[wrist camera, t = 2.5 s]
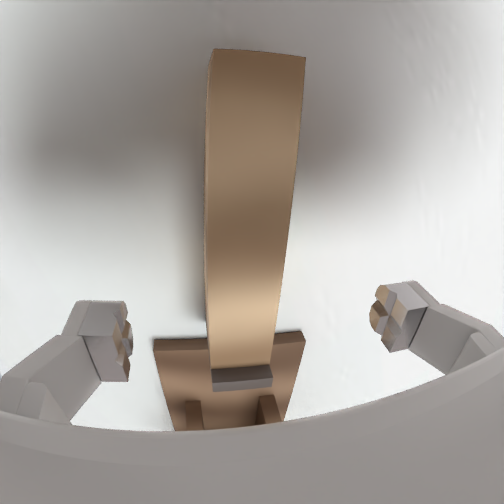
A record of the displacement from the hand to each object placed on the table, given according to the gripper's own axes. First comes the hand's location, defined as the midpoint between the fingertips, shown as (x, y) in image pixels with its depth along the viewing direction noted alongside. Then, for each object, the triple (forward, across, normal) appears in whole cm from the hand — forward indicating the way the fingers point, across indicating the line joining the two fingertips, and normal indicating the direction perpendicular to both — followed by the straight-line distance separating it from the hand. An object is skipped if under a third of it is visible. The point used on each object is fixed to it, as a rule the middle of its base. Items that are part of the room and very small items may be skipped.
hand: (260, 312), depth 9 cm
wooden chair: (+8, 0, +16) cm, 17 cm away
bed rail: (+7, 0, -1) cm, 7 cm away
